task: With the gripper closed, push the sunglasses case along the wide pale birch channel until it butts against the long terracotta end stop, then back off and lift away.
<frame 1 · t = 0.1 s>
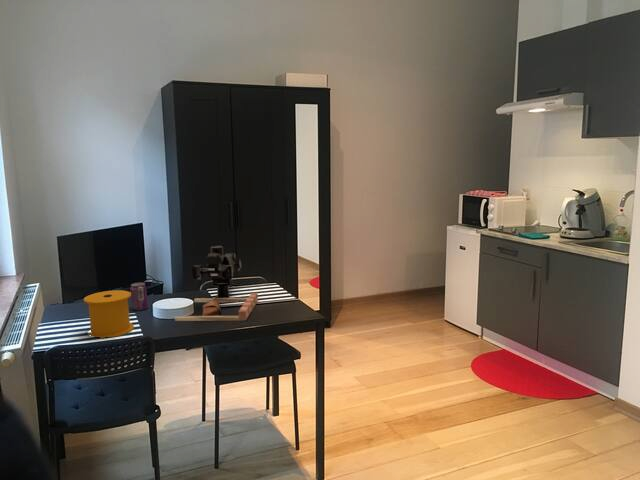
hand: (207, 276, 235), 17 cm above the table, tool horizontal, fingers open, 9 cm apart
spool: (111, 331, 216), on the table
beverage can: (140, 309, 245), on the table
guide channel: (217, 310, 240), on the table
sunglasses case: (211, 311, 240), on the table
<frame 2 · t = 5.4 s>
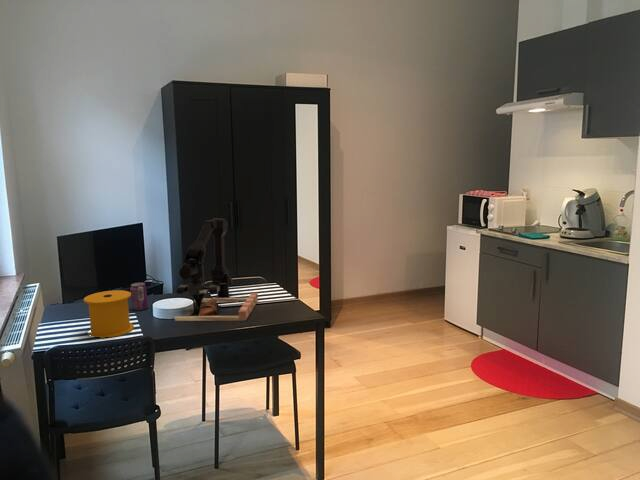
hand: (199, 307, 240), 2 cm above the table, tool pointing down, fingers closed
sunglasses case: (208, 312, 240), on the table
everything else where it was.
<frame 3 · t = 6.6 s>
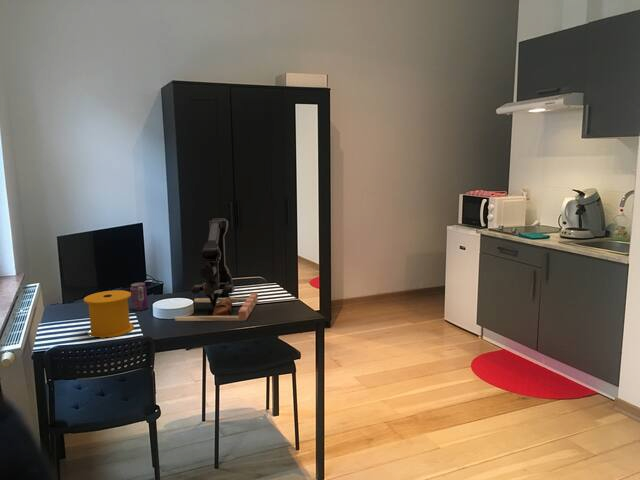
hand: (214, 307, 240), 2 cm above the table, tool pointing down, fingers closed
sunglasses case: (222, 311, 241), on the table, touching gripper
everything else where it was.
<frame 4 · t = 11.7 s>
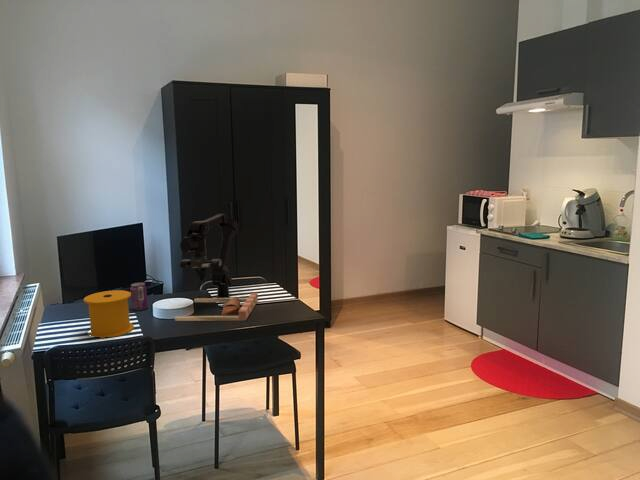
hand: (201, 280, 246), 12 cm above the table, tool pointing down, fingers closed
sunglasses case: (231, 310, 241), on the table
everything else where it was.
at the end: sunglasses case inside the target area (1.6 cm from its centre), on the table; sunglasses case tilted 2°; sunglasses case moved 8.9 cm from its start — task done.
